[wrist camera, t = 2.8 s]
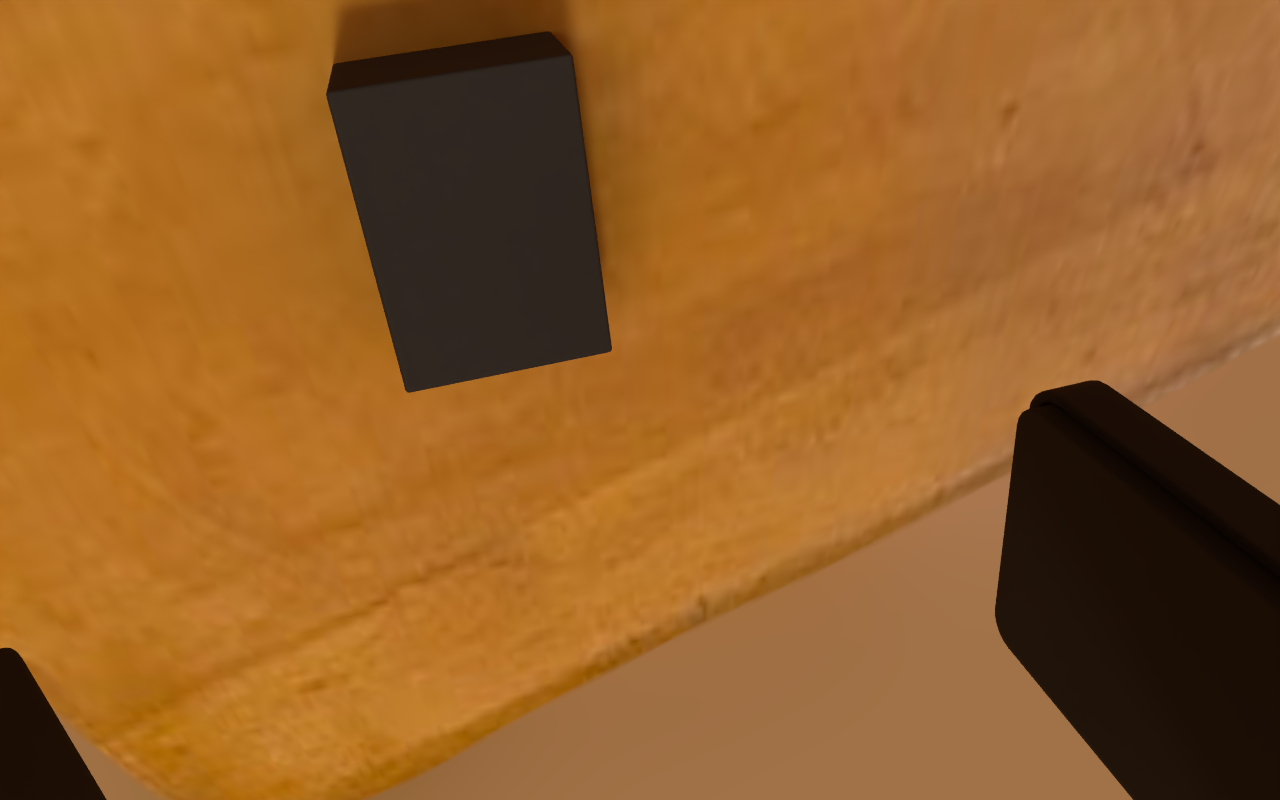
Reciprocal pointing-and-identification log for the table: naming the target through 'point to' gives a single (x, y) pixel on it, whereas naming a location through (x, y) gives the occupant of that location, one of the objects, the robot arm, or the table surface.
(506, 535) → the table surface
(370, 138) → the loose pad
